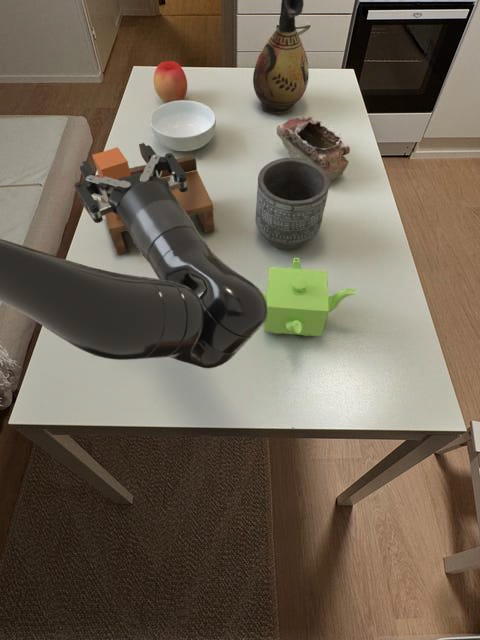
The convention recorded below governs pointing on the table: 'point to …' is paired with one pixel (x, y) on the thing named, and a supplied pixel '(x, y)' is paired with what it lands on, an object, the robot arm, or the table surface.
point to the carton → (111, 165)
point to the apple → (170, 81)
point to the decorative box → (315, 144)
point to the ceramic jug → (282, 64)
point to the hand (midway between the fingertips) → (114, 157)
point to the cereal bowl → (183, 125)
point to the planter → (291, 201)
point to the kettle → (299, 300)
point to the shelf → (190, 200)
